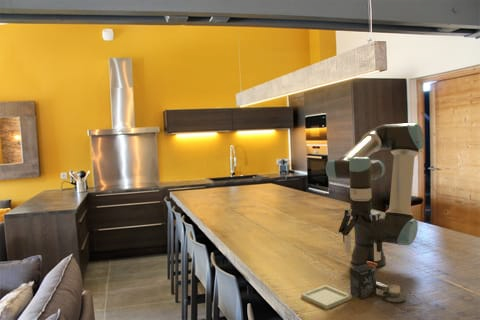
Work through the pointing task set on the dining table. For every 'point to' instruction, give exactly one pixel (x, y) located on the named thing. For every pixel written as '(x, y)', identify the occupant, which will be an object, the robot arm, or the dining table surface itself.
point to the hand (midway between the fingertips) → (362, 255)
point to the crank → (390, 289)
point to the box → (363, 281)
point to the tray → (326, 296)
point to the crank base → (394, 298)
